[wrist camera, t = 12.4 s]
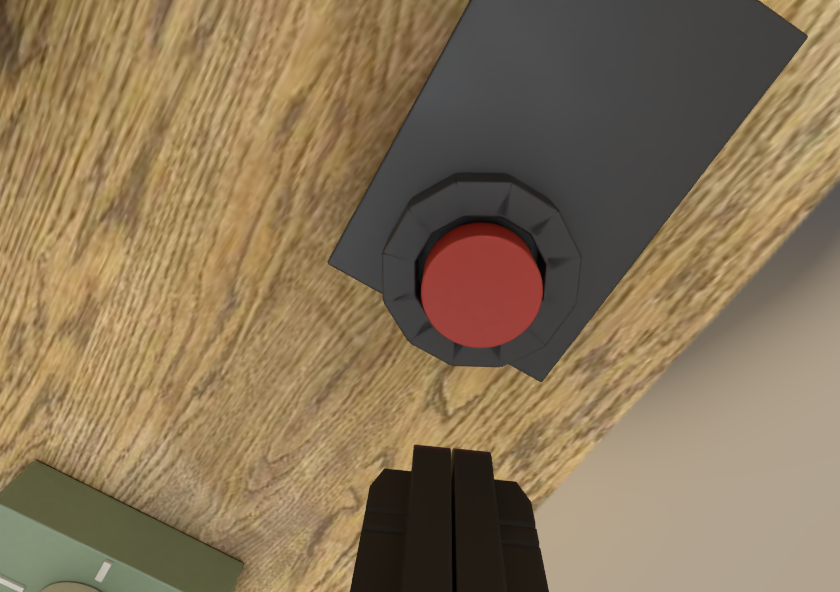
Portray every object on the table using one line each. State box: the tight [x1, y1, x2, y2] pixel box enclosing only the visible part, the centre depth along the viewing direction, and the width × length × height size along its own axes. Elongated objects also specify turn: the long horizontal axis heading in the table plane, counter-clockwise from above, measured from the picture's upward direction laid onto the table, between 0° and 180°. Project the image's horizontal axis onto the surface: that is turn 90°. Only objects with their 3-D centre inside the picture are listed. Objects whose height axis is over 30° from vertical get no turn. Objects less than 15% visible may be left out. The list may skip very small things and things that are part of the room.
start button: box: [421, 222, 543, 348], centre depth 19 cm, size 4×4×2 cm
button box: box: [328, 0, 808, 382], centre depth 20 cm, size 15×10×4 cm, turn 150°
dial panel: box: [0, 460, 243, 592], centre depth 30 cm, size 12×9×3 cm
